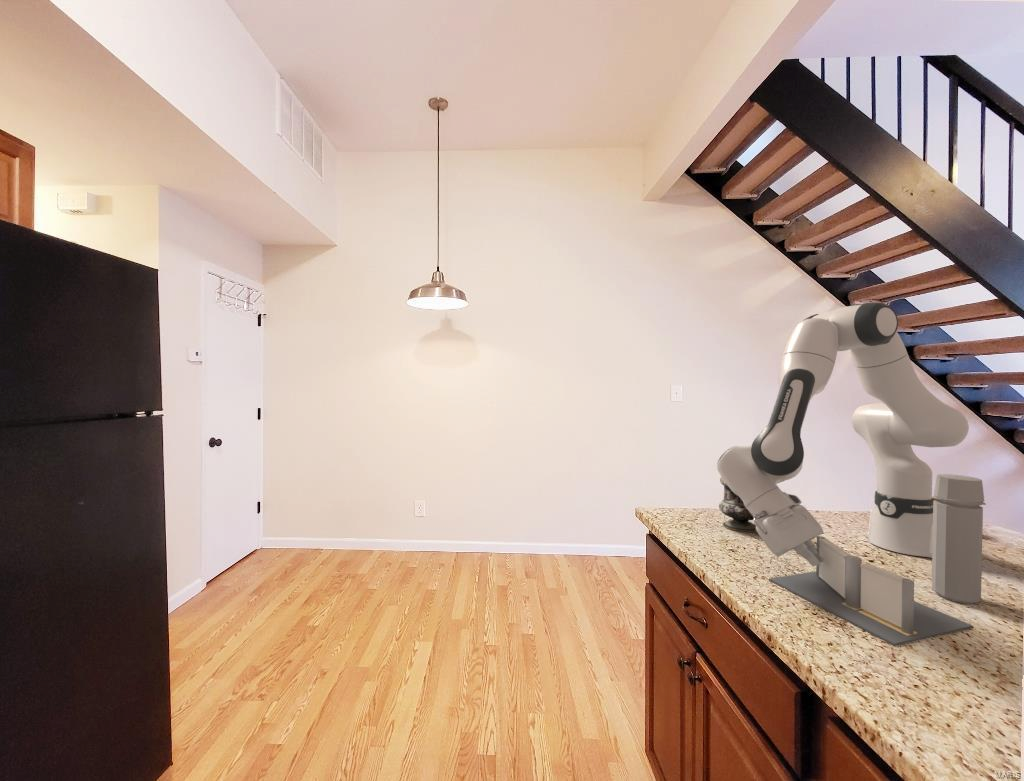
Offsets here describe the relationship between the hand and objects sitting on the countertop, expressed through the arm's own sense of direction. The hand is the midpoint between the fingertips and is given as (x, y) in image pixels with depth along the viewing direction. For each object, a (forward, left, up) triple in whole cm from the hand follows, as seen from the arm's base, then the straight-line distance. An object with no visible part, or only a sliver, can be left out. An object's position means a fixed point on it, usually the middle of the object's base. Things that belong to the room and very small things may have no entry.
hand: (818, 563), depth 94 cm
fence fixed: (+2, +13, -5) cm, 14 cm away
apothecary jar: (-14, -36, -5) cm, 39 cm away
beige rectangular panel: (-1, +2, -4) cm, 5 cm away
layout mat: (-2, +7, -5) cm, 9 cm away
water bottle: (-24, +11, -5) cm, 27 cm away
